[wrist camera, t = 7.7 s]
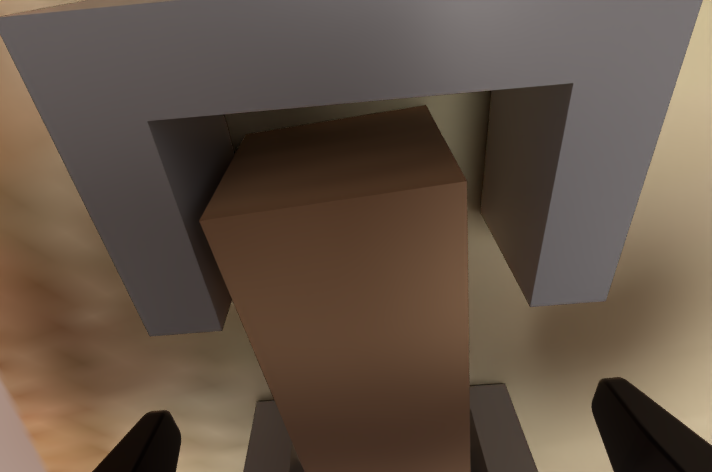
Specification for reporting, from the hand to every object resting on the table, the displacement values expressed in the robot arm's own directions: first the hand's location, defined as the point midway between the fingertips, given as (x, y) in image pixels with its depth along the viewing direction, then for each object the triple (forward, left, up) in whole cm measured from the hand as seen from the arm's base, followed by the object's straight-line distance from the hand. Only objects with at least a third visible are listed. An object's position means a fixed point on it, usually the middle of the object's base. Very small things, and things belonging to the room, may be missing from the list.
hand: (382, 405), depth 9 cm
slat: (0, 0, -3) cm, 3 cm away
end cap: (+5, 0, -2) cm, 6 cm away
